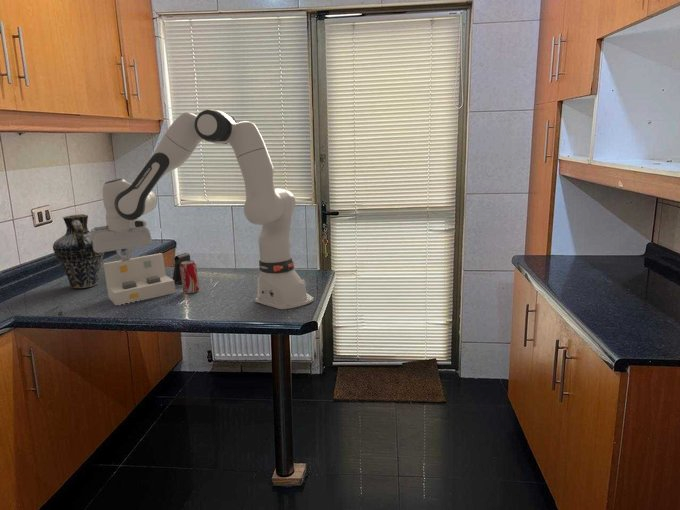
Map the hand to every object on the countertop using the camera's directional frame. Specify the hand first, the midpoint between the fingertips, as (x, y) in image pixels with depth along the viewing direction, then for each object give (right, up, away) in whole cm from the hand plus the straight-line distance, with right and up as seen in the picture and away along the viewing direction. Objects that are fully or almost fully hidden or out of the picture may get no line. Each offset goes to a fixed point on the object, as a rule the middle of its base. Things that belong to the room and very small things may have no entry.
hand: (125, 260), depth 191 cm
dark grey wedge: (+16, -10, +23) cm, 29 cm away
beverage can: (+22, -13, +9) cm, 27 cm away
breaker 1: (+1, -12, +3) cm, 13 cm away
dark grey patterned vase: (-27, -11, +25) cm, 39 cm away
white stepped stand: (+4, -14, +7) cm, 16 cm away
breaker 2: (+8, -11, +8) cm, 16 cm away
